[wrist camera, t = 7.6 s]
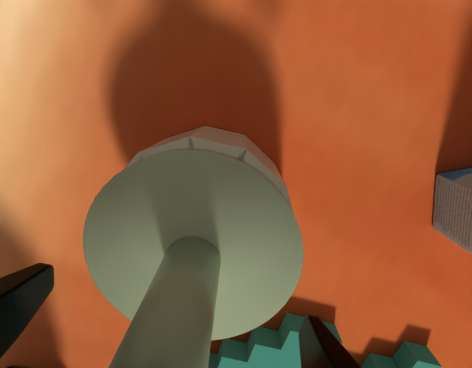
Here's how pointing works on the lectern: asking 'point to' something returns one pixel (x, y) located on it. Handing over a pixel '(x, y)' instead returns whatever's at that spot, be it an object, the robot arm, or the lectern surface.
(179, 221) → the lid
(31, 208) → the lectern surface
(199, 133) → the bowl
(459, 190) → the medicine box
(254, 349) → the alien figure
